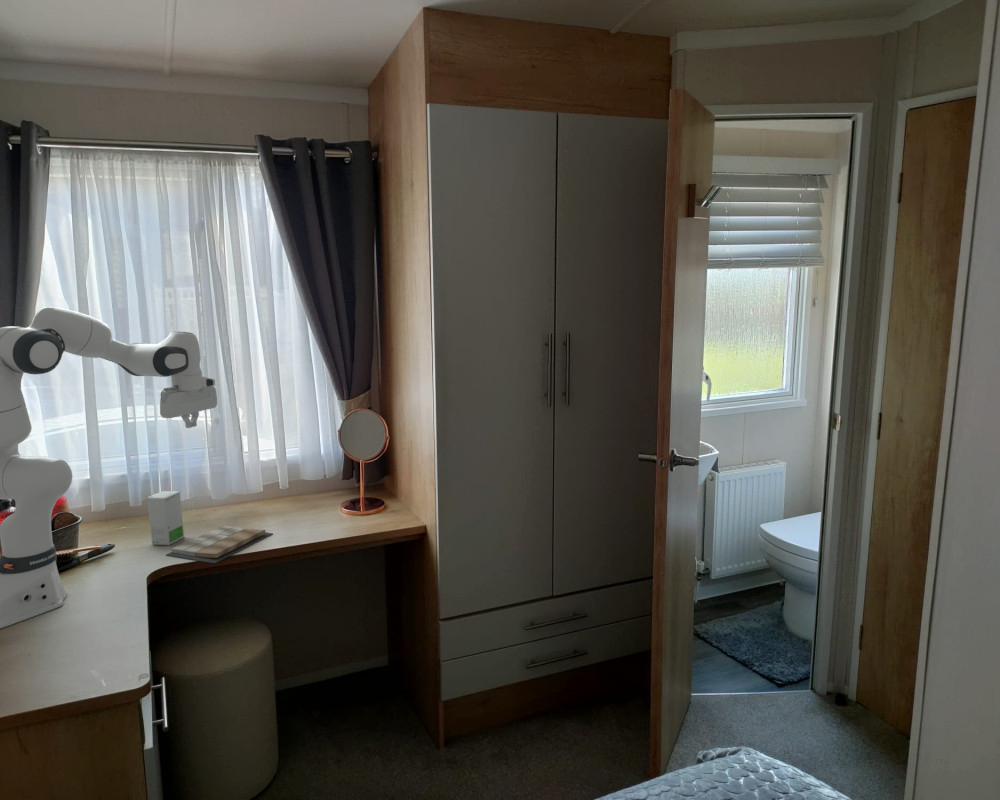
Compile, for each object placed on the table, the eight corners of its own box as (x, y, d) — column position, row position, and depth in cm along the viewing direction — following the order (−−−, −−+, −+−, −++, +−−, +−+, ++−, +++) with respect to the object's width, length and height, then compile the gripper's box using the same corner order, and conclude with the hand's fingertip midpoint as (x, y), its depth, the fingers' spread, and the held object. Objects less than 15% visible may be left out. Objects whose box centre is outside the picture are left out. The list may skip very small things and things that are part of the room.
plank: (216, 558, 214) (215, 554, 214) (195, 556, 217) (195, 552, 217) (265, 533, 234) (265, 529, 234) (246, 532, 237) (245, 528, 237)
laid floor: (194, 556, 217) (194, 552, 217) (172, 552, 220) (171, 548, 220) (245, 532, 237) (245, 528, 237) (223, 529, 240) (223, 525, 240)
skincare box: (168, 546, 227) (164, 498, 224) (150, 544, 228) (145, 497, 225) (185, 536, 235) (180, 490, 232) (167, 535, 236) (162, 489, 233)
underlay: (214, 563, 212) (214, 562, 212) (165, 555, 219) (165, 554, 219) (272, 534, 236) (272, 533, 235) (226, 527, 242) (226, 526, 242)
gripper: (168, 388, 212) (173, 434, 214) (218, 379, 231) (222, 421, 233) (152, 388, 214) (157, 433, 217) (203, 378, 233) (207, 420, 235)
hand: (191, 427), depth 225 cm, fingers closed
